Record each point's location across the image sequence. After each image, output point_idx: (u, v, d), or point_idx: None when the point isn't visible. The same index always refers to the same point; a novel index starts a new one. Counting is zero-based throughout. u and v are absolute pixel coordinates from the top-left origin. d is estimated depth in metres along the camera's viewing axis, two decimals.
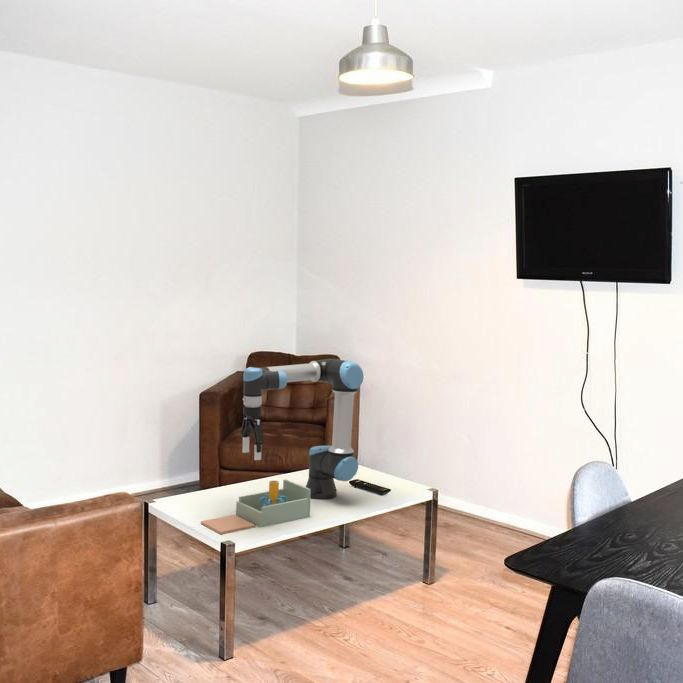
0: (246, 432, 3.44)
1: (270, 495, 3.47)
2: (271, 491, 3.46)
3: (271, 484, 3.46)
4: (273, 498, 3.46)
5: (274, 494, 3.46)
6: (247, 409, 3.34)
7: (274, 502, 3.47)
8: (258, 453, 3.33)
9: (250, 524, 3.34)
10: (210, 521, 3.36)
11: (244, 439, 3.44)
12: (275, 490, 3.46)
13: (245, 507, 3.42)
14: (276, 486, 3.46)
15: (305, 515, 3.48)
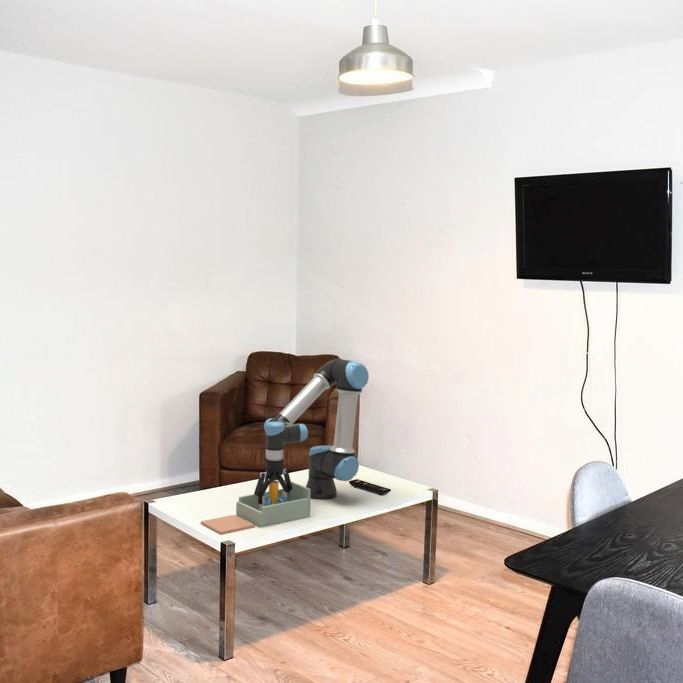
0: (282, 486, 3.51)
1: (270, 495, 3.47)
2: (271, 491, 3.46)
3: (271, 484, 3.46)
4: (273, 498, 3.46)
5: (274, 494, 3.46)
6: None
7: (274, 502, 3.47)
8: (261, 505, 3.44)
9: (250, 524, 3.34)
10: (210, 521, 3.36)
11: (282, 493, 3.52)
12: (275, 490, 3.46)
13: (245, 507, 3.42)
14: (276, 486, 3.46)
15: (305, 515, 3.48)
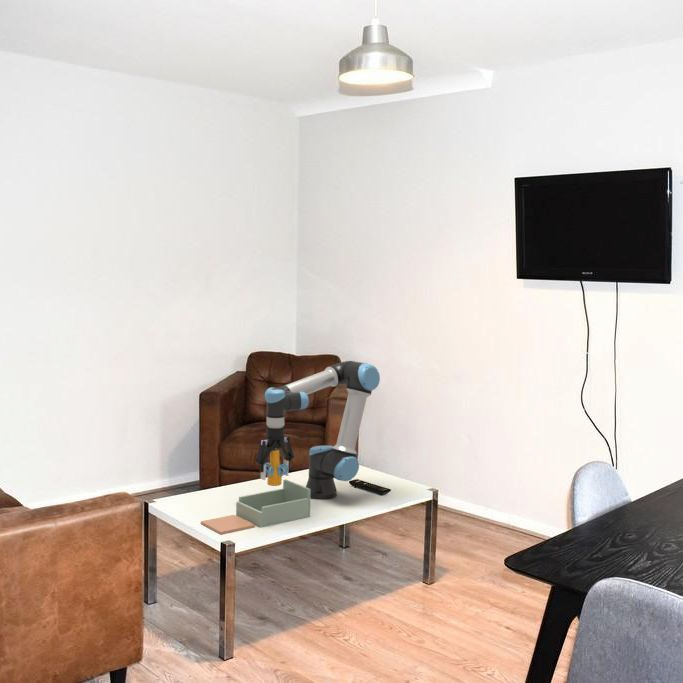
0: (283, 454, 3.50)
1: (271, 463, 3.45)
2: (272, 459, 3.45)
3: (272, 452, 3.45)
4: (274, 466, 3.45)
5: (275, 462, 3.45)
6: None
7: (275, 470, 3.45)
8: (262, 473, 3.43)
9: (250, 524, 3.34)
10: (210, 521, 3.36)
11: (284, 461, 3.51)
12: (276, 458, 3.45)
13: (245, 507, 3.42)
14: (277, 454, 3.45)
15: (305, 515, 3.48)
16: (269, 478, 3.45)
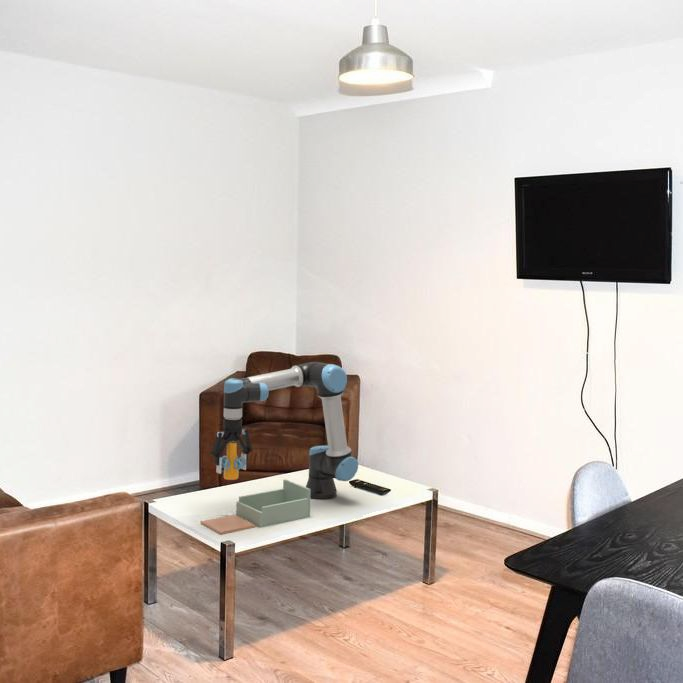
0: (241, 447, 3.36)
1: (228, 456, 3.31)
2: (229, 452, 3.31)
3: (229, 444, 3.31)
4: (231, 459, 3.31)
5: (232, 455, 3.31)
6: None
7: (232, 463, 3.31)
8: (218, 466, 3.29)
9: (250, 524, 3.34)
10: (210, 521, 3.36)
11: (241, 455, 3.37)
12: (233, 451, 3.31)
13: (245, 507, 3.42)
14: (234, 447, 3.31)
15: (305, 515, 3.48)
16: (225, 472, 3.31)
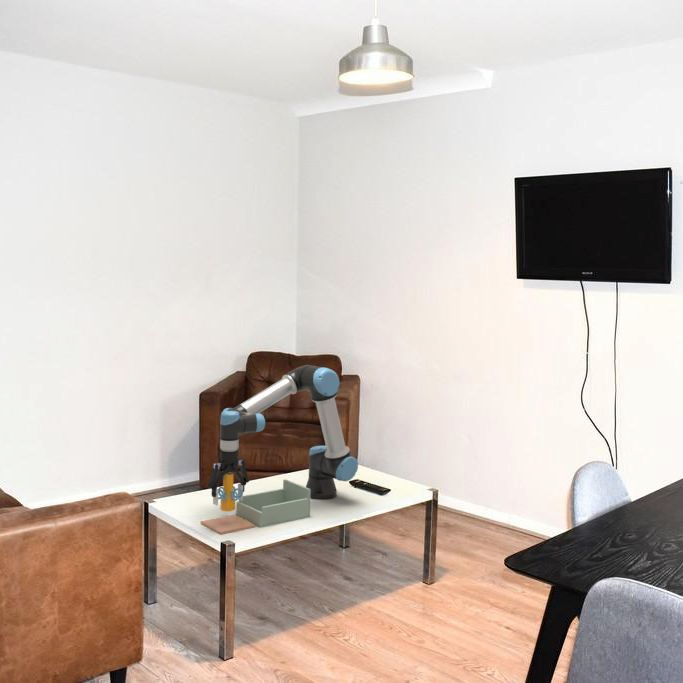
0: (238, 478, 3.36)
1: (224, 487, 3.32)
2: (225, 483, 3.31)
3: (225, 476, 3.31)
4: (227, 491, 3.31)
5: (228, 486, 3.31)
6: None
7: (228, 495, 3.32)
8: (215, 498, 3.30)
9: (250, 524, 3.34)
10: (210, 521, 3.36)
11: (238, 486, 3.37)
12: (229, 482, 3.31)
13: (245, 507, 3.42)
14: (231, 478, 3.31)
15: (305, 515, 3.48)
16: (222, 503, 3.32)
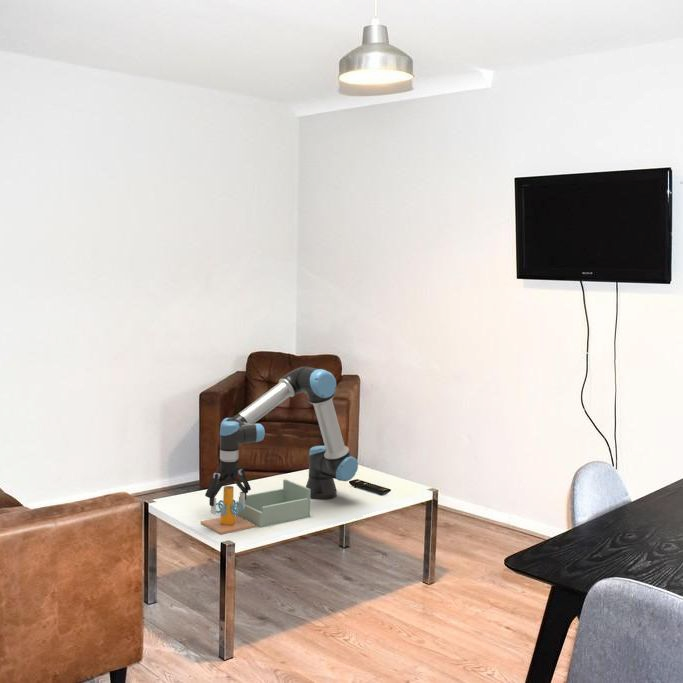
0: (239, 487, 3.37)
1: (224, 501, 3.32)
2: (225, 497, 3.32)
3: (225, 490, 3.32)
4: (227, 504, 3.32)
5: (228, 500, 3.32)
6: None
7: (228, 508, 3.32)
8: (212, 507, 3.29)
9: (250, 524, 3.34)
10: (210, 521, 3.36)
11: (240, 494, 3.38)
12: (229, 496, 3.32)
13: (245, 507, 3.42)
14: (231, 492, 3.32)
15: (305, 515, 3.48)
16: (222, 517, 3.32)
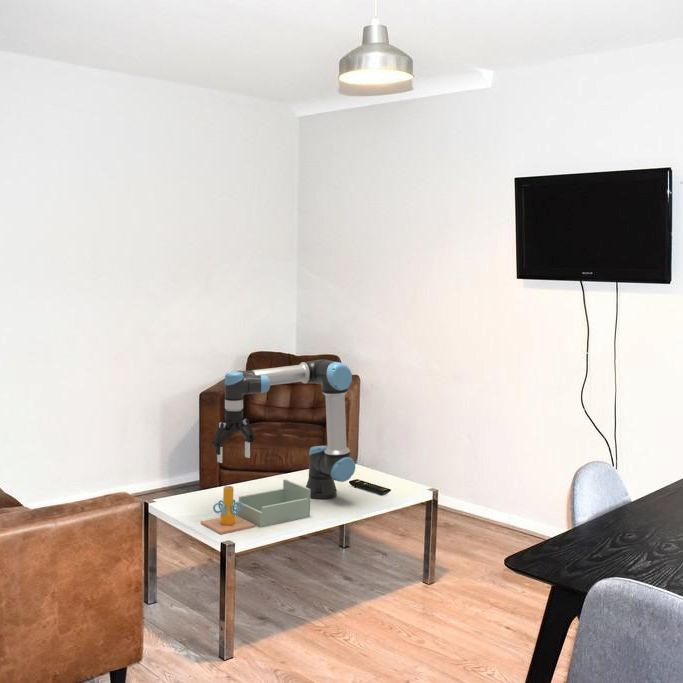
0: (244, 436, 3.43)
1: (224, 501, 3.32)
2: (225, 497, 3.32)
3: (225, 490, 3.32)
4: (227, 504, 3.32)
5: (228, 500, 3.32)
6: None
7: (228, 508, 3.32)
8: (219, 455, 3.35)
9: (250, 524, 3.34)
10: (210, 521, 3.36)
11: (245, 443, 3.44)
12: (229, 496, 3.32)
13: (245, 507, 3.42)
14: (230, 492, 3.32)
15: (305, 515, 3.48)
16: (222, 517, 3.32)
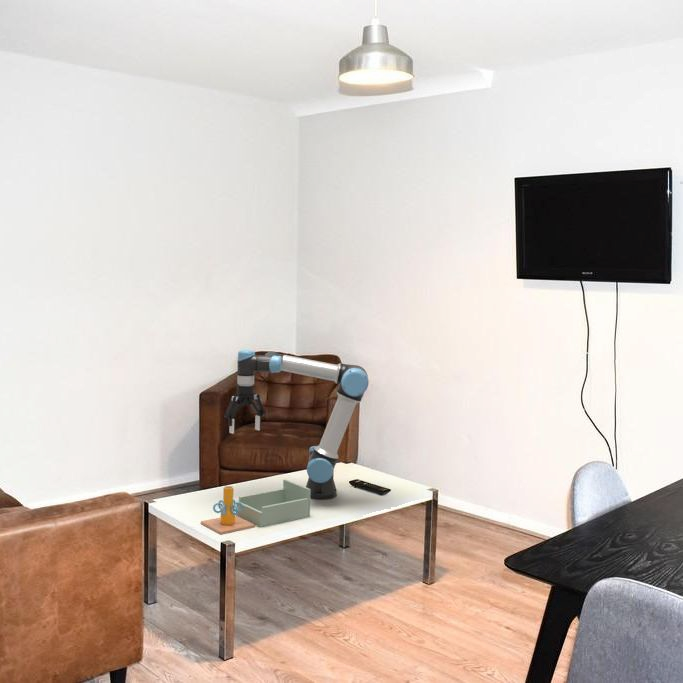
0: (255, 410, 3.70)
1: (224, 501, 3.32)
2: (225, 497, 3.32)
3: (225, 490, 3.32)
4: (227, 504, 3.32)
5: (228, 500, 3.32)
6: None
7: (228, 508, 3.32)
8: (231, 427, 3.62)
9: (250, 524, 3.34)
10: (210, 521, 3.36)
11: (255, 417, 3.71)
12: (229, 496, 3.32)
13: (245, 507, 3.42)
14: (230, 492, 3.32)
15: (305, 515, 3.48)
16: (222, 517, 3.32)
